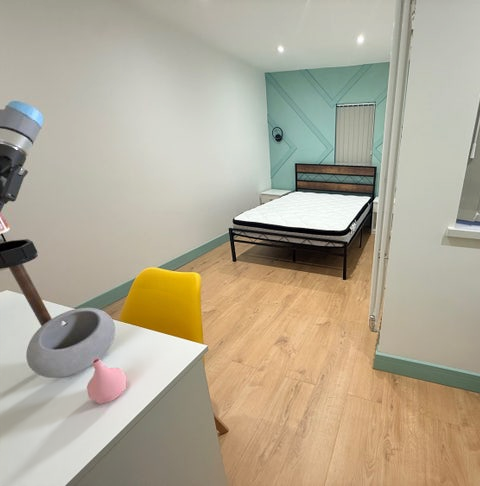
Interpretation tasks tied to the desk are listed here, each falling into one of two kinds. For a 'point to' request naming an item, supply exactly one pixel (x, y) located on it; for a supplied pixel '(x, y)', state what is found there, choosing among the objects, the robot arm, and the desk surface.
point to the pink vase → (105, 383)
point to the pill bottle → (3, 224)
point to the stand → (30, 293)
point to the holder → (16, 252)
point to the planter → (70, 342)
